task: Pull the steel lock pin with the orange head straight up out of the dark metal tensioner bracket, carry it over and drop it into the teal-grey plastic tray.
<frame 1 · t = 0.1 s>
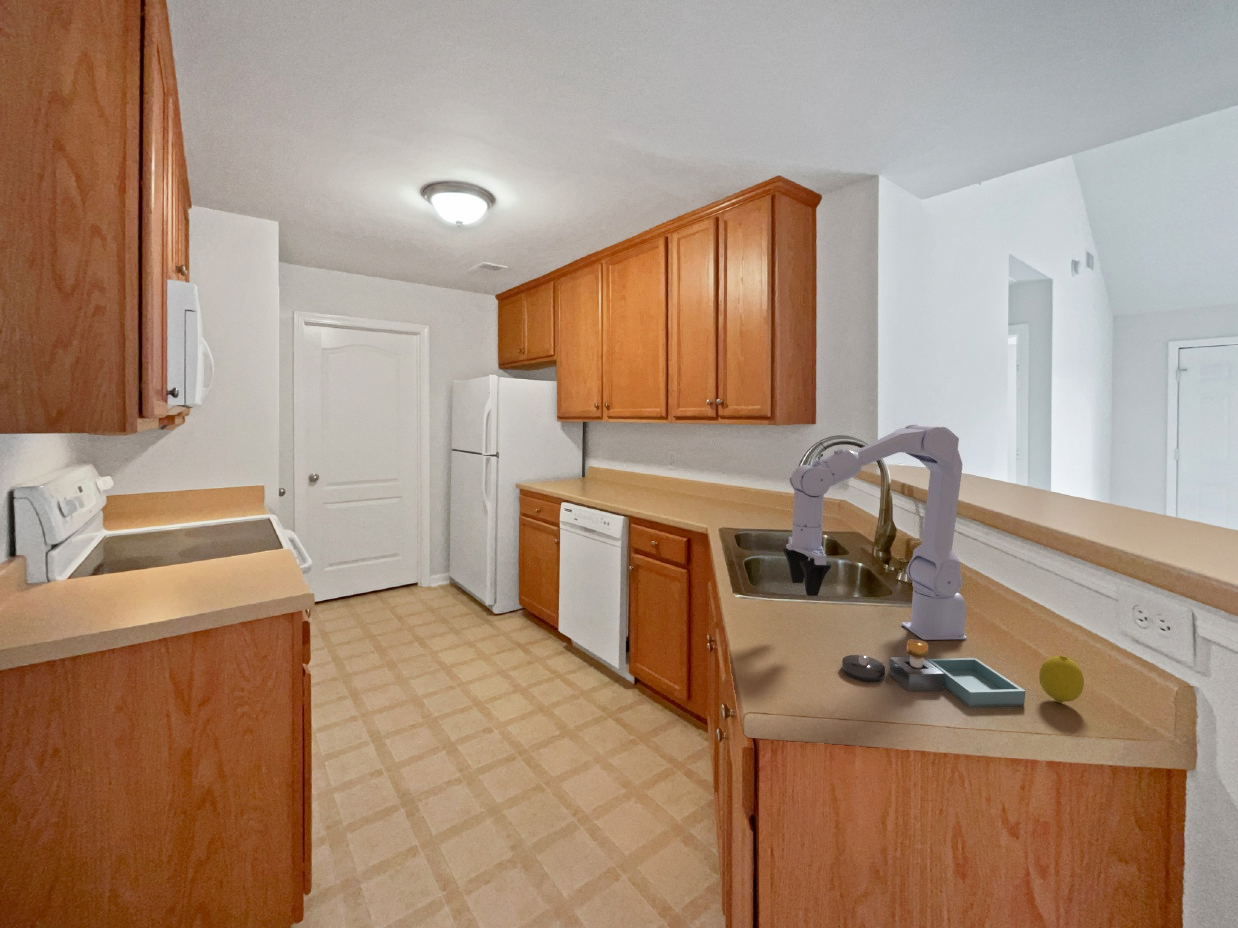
hand: (804, 588, 110), 10 cm above the counter, tool pointing down, fingers open, 7 cm apart
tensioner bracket: (914, 681, 93), on the counter
lock pin: (916, 662, 93), in the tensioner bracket
lemon: (1058, 703, 87), on the counter
tray: (971, 687, 91), on the counter
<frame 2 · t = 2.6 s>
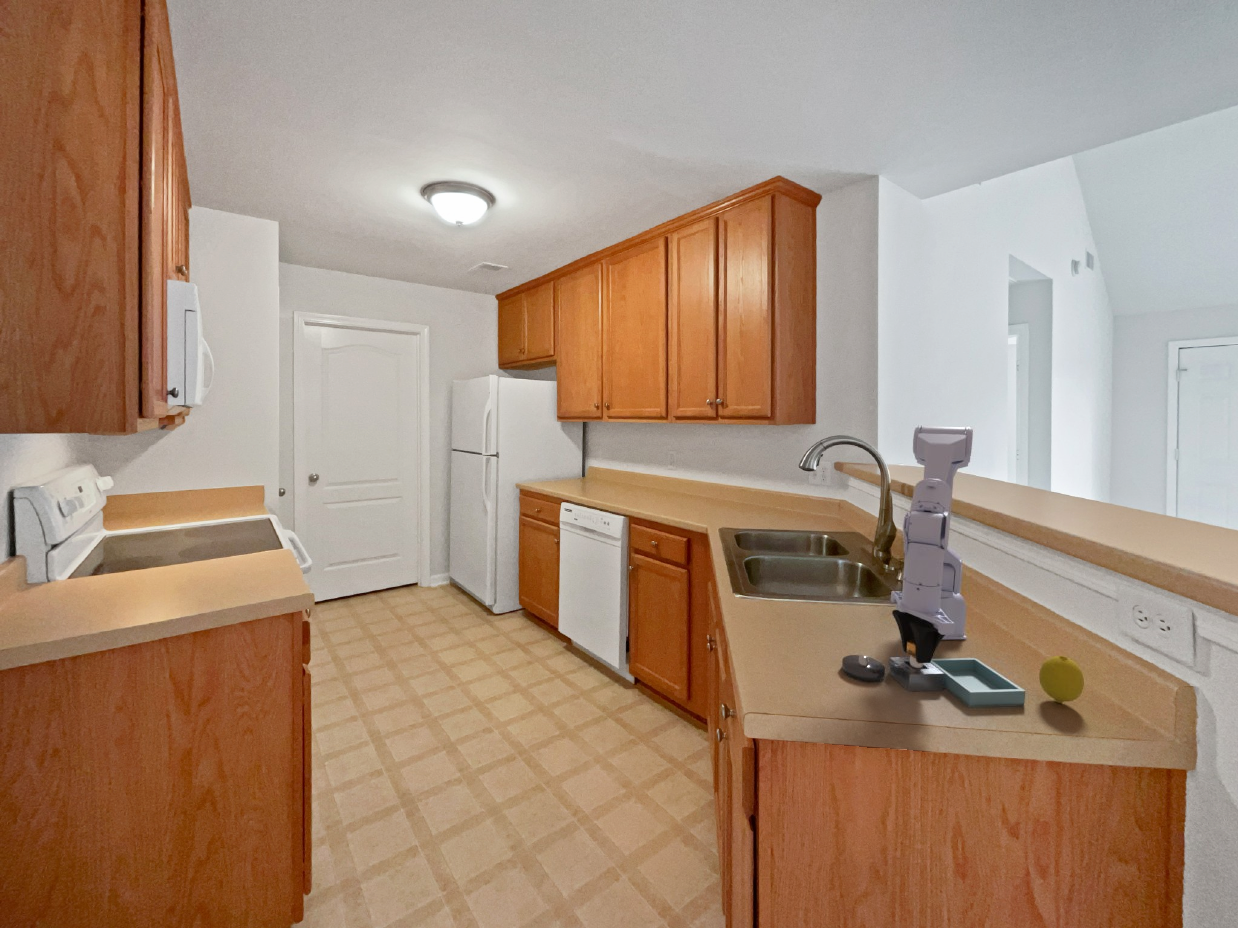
hand: (916, 656, 93), 5 cm above the counter, tool pointing down, fingers closed on lock pin, 3 cm apart
lock pin: (916, 662, 93), in the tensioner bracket, touching gripper
everything else where it was.
when the fingers open (6 cm above the counter, at t = 6.5 s): lock pin drops 1 cm, resting on tray.
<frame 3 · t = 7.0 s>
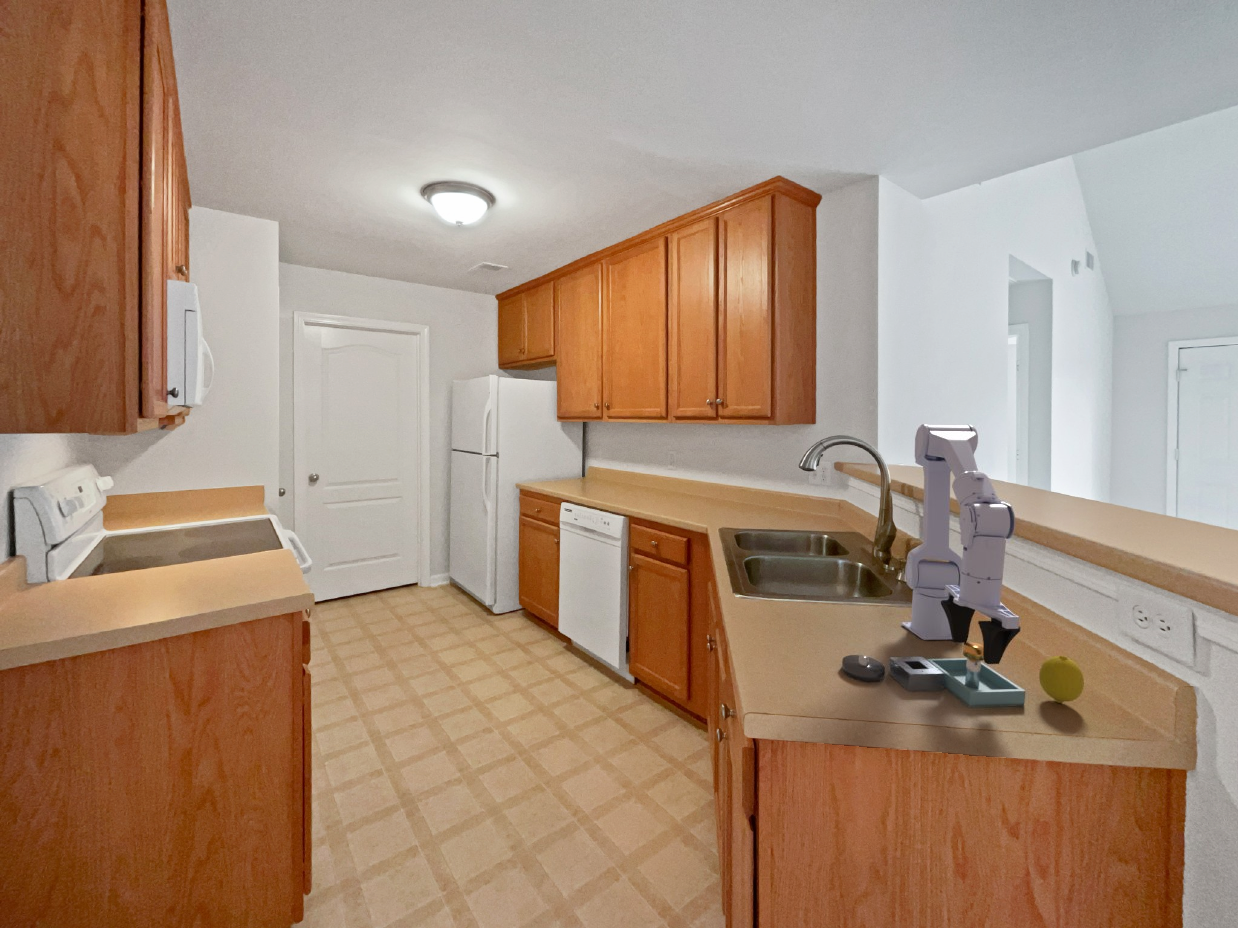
hand: (974, 652, 90), 6 cm above the counter, tool pointing down, fingers open, 7 cm apart
lock pin: (973, 665, 91), in the tray
everything else where it was.
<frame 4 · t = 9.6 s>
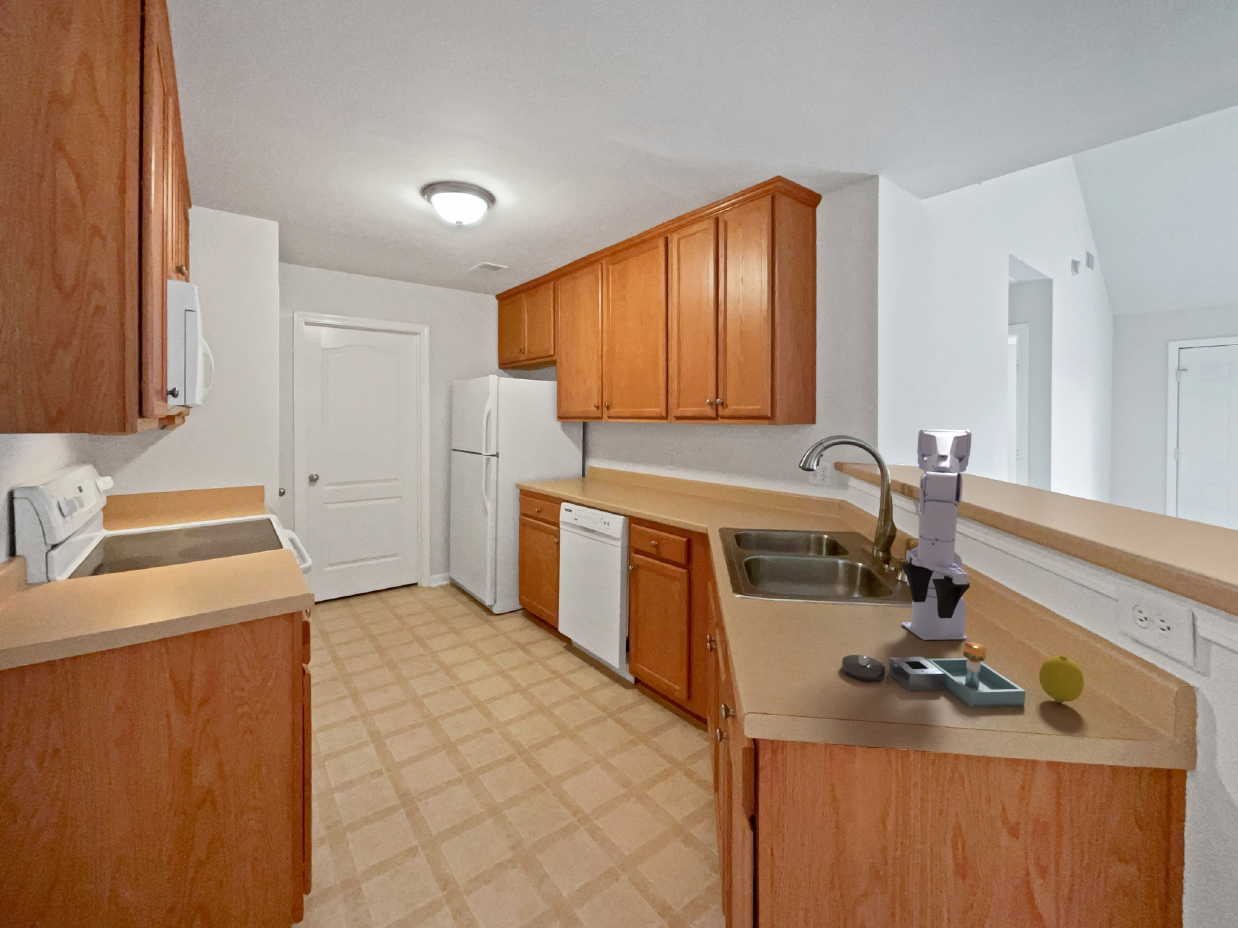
hand: (931, 609, 99), 10 cm above the counter, tool pointing down, fingers open, 7 cm apart
nothing on the counter moved.
at the end: lock pin inside the target area on the tray (0.0 cm from its centre), point 3.9 cm above the tray's base; the gripper is holding nothing; lock pin moved 8.9 cm from its start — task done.
